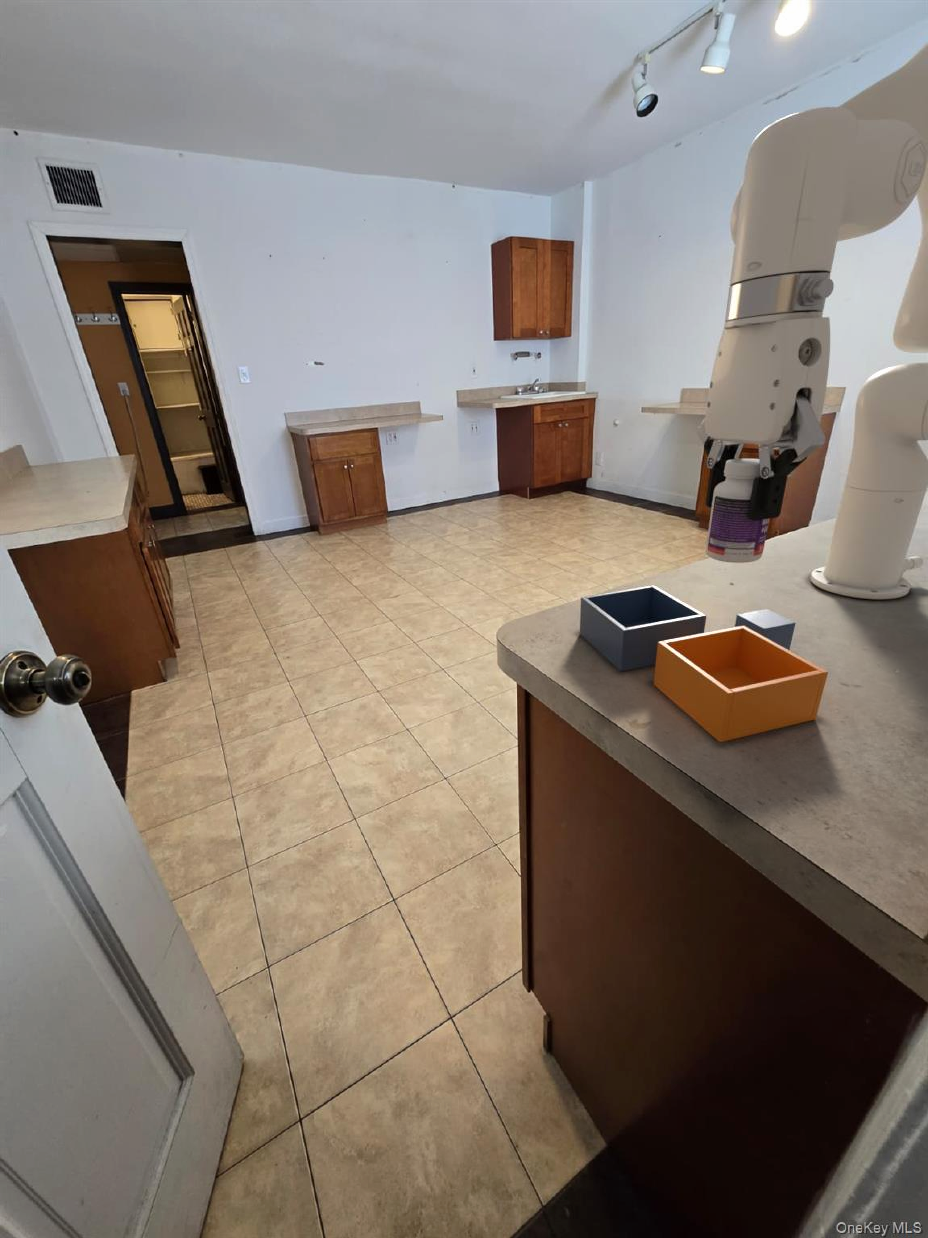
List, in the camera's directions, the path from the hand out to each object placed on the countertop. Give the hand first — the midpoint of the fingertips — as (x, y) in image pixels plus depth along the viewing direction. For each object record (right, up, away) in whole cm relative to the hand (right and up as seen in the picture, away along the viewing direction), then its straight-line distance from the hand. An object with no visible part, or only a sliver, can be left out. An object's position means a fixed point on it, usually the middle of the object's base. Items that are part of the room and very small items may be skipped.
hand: (740, 509), depth 52 cm
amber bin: (+1, -20, +3) cm, 20 cm away
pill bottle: (0, -5, +2) cm, 5 cm away
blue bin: (-5, -15, +16) cm, 22 cm away
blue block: (+9, -15, +13) cm, 22 cm away
